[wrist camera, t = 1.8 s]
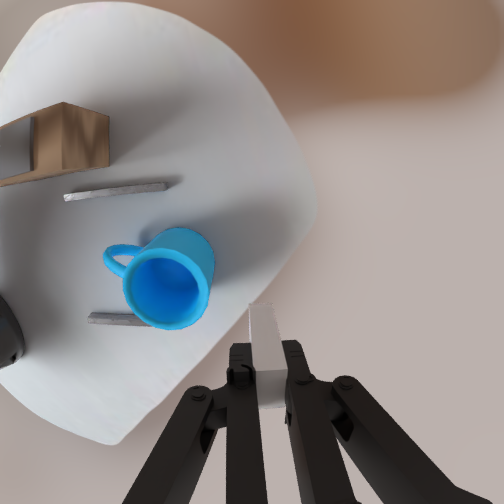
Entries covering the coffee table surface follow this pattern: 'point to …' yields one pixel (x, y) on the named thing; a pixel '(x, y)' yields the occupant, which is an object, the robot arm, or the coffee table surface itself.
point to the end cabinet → (53, 144)
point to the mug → (166, 277)
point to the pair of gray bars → (102, 317)
